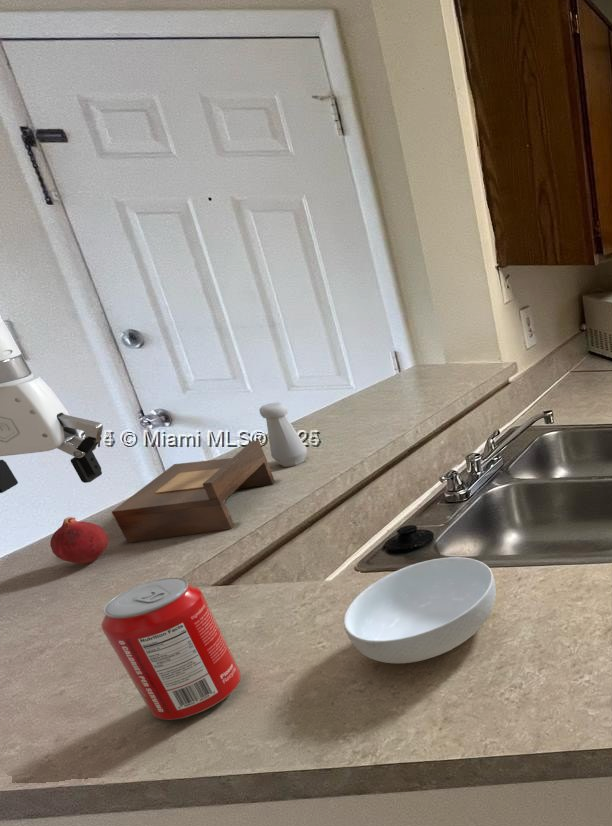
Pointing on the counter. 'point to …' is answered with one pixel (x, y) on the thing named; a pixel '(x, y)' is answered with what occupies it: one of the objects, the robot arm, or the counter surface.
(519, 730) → the counter surface
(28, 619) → the counter surface
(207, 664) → the soda can
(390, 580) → the cereal bowl
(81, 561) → the pomegranate
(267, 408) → the salt shaker
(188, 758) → the counter surface
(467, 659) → the counter surface
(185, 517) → the wooden display stand
